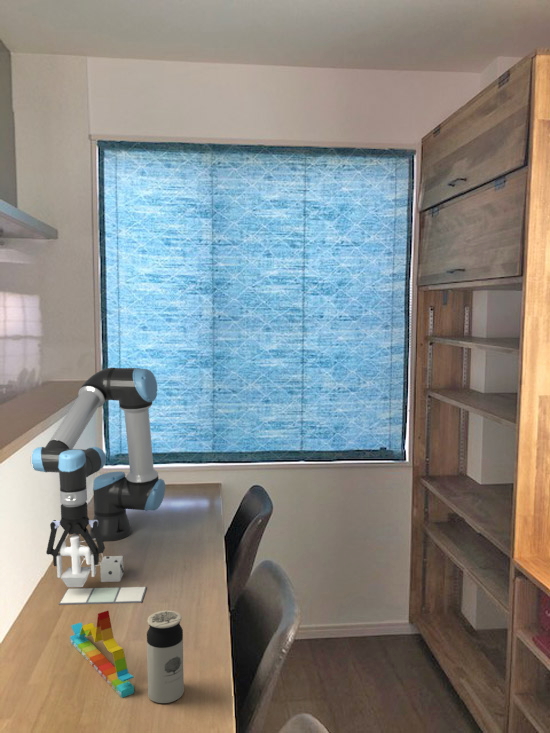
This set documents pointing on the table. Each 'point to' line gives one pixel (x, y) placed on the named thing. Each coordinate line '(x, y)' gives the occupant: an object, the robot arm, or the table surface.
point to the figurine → (76, 562)
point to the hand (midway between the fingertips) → (76, 575)
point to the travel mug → (165, 657)
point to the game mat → (103, 595)
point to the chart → (111, 674)
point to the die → (111, 568)
